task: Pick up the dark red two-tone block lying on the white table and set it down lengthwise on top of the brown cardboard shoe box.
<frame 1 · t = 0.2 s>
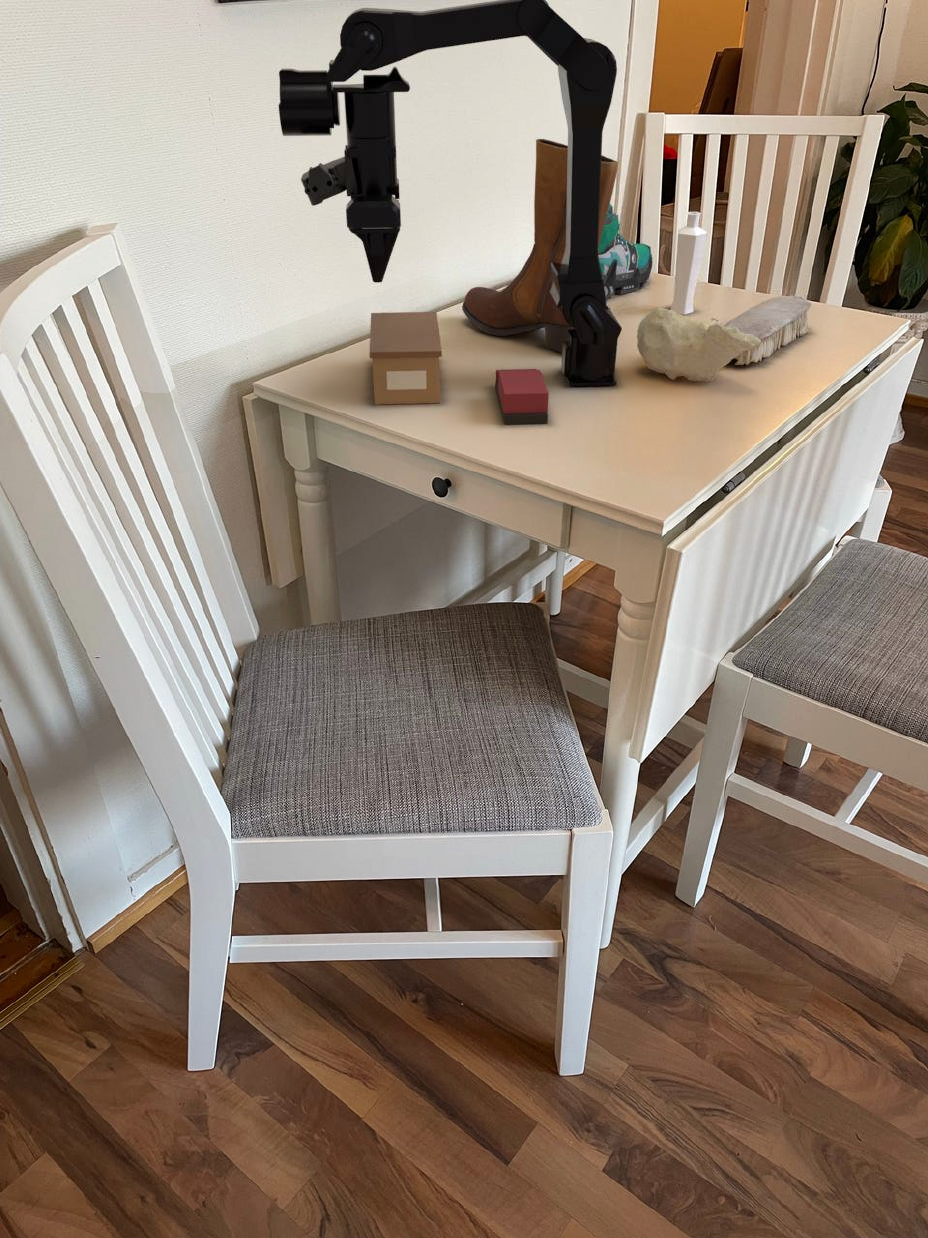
hand: (377, 271, 122), 15 cm above the table, tool pointing down, fingers open, 9 cm apart
shoebox: (406, 382, 130), on the table
sneaker: (604, 290, 167), on the table
shoe brush: (761, 346, 143), on the table
boot: (529, 337, 146), on the table
dark red two-tone block: (520, 405, 124), on the table
beige lumpy irregular piece: (696, 377, 132), on the table
perfume bottle: (679, 312, 156), on the table
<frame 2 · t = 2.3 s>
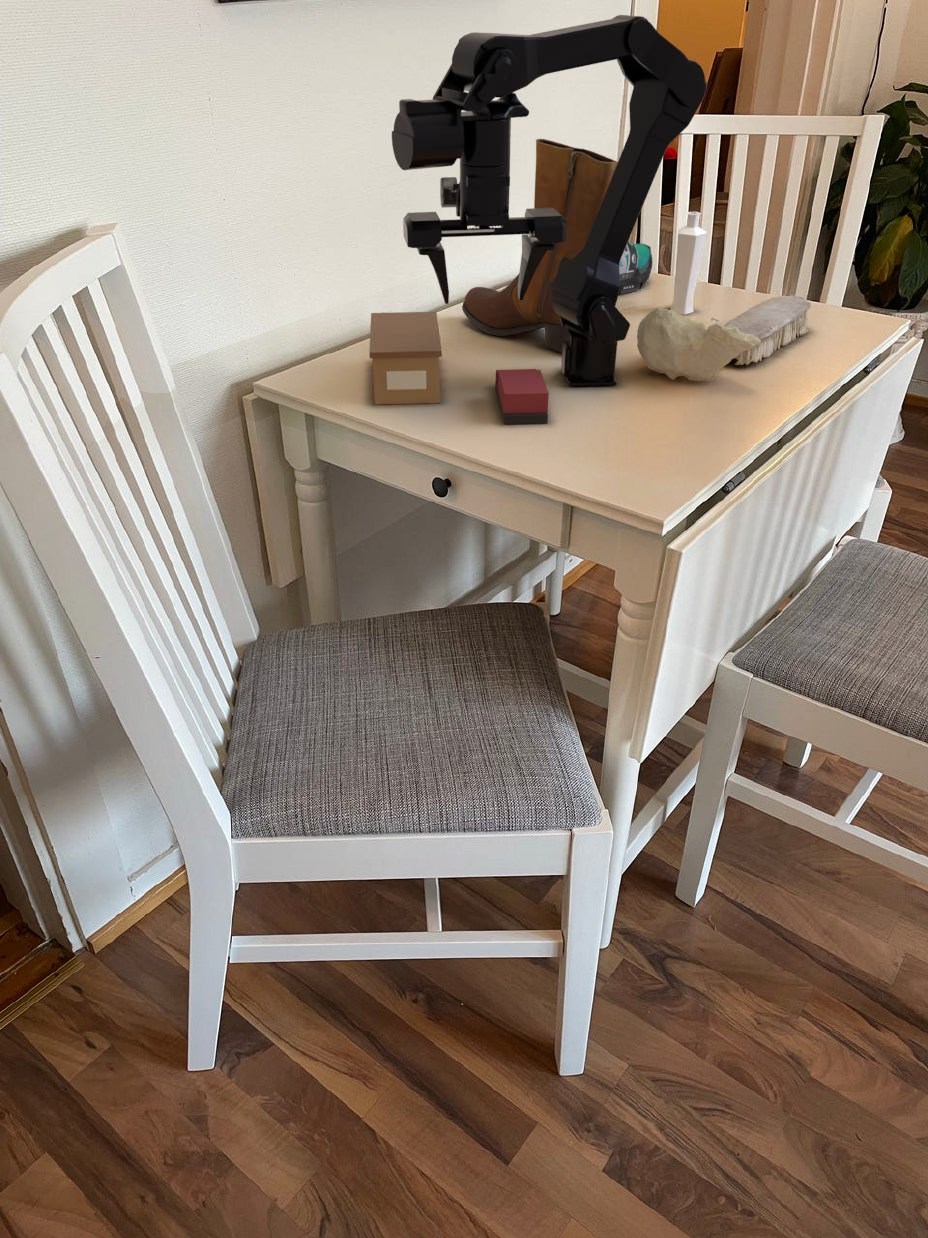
hand: (483, 301, 118), 13 cm above the table, tool pointing down, fingers open, 9 cm apart
nothing on the table moved.
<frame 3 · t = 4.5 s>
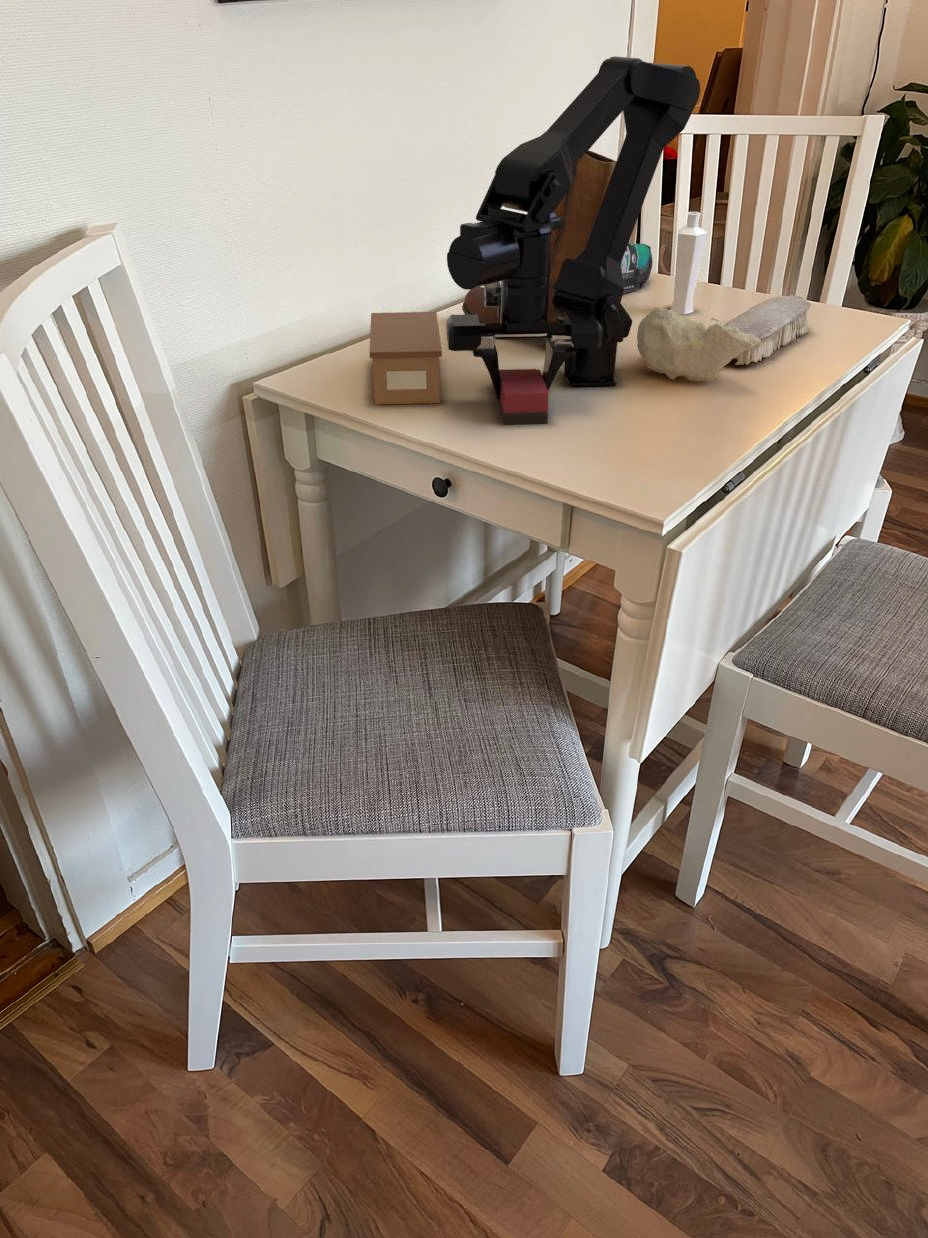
hand: (520, 397, 123), 1 cm above the table, tool pointing down, fingers closed on dark red two-tone block, 5 cm apart
dark red two-tone block: (520, 405, 124), on the table, touching gripper
everything else where it was.
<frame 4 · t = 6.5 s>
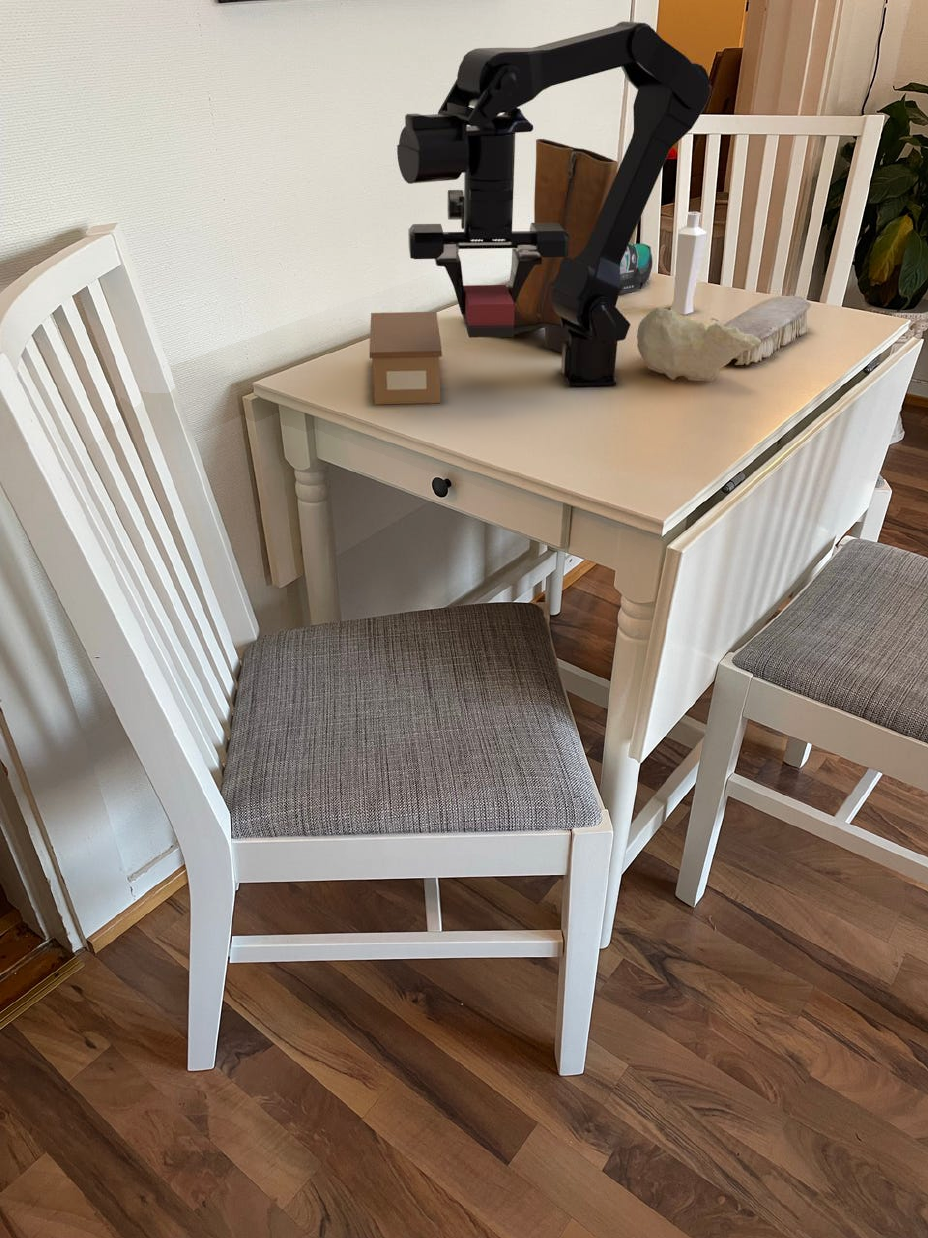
hand: (486, 313, 119), 11 cm above the table, tool pointing down, fingers closed on dark red two-tone block, 5 cm apart
dark red two-tone block: (486, 321, 120), point 10 cm above the table, touching gripper
everything else where it was.
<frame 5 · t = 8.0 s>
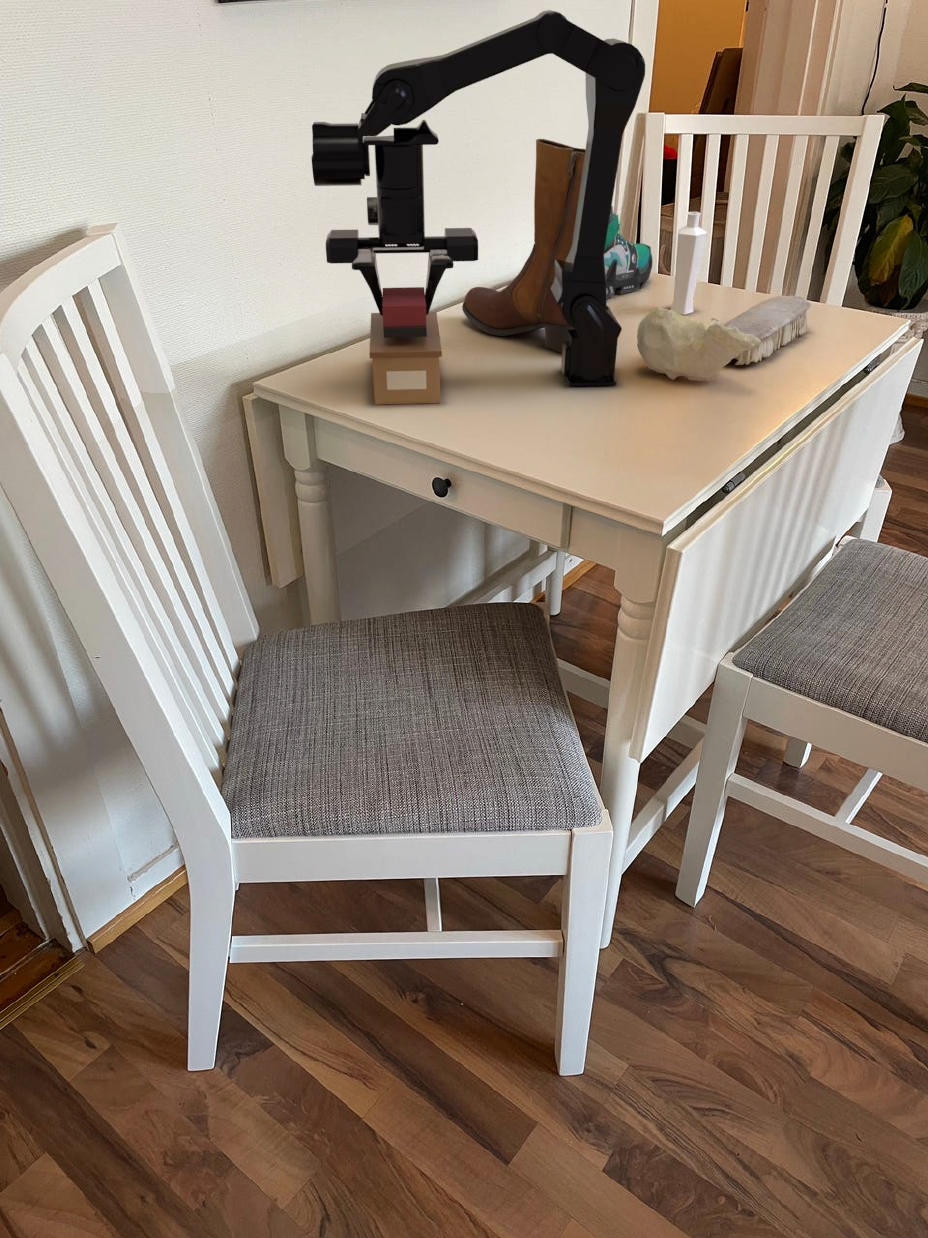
hand: (404, 314, 125), 9 cm above the table, tool pointing down, fingers closed on dark red two-tone block, 5 cm apart
dark red two-tone block: (404, 322, 125), point 8 cm above the table, touching gripper
everything else where it was.
when the fingers open (8 cm above the table, at t = 8.8 s): dark red two-tone block stays where it is, resting on shoebox.
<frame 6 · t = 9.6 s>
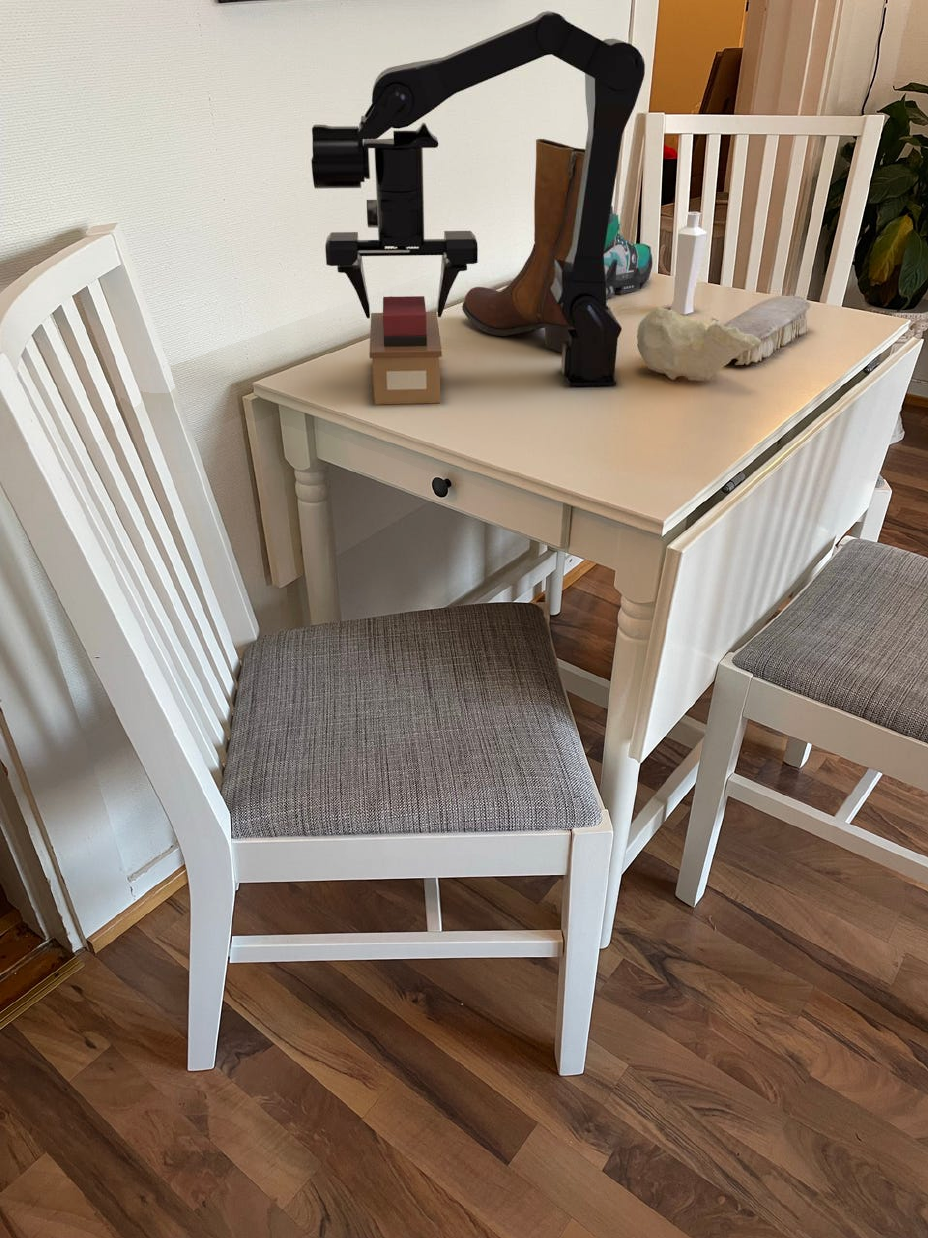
hand: (403, 316, 125), 9 cm above the table, tool pointing down, fingers open, 9 cm apart
dark red two-tone block: (404, 330, 126), point 7 cm above the table, touching shoebox
everything else where it was.
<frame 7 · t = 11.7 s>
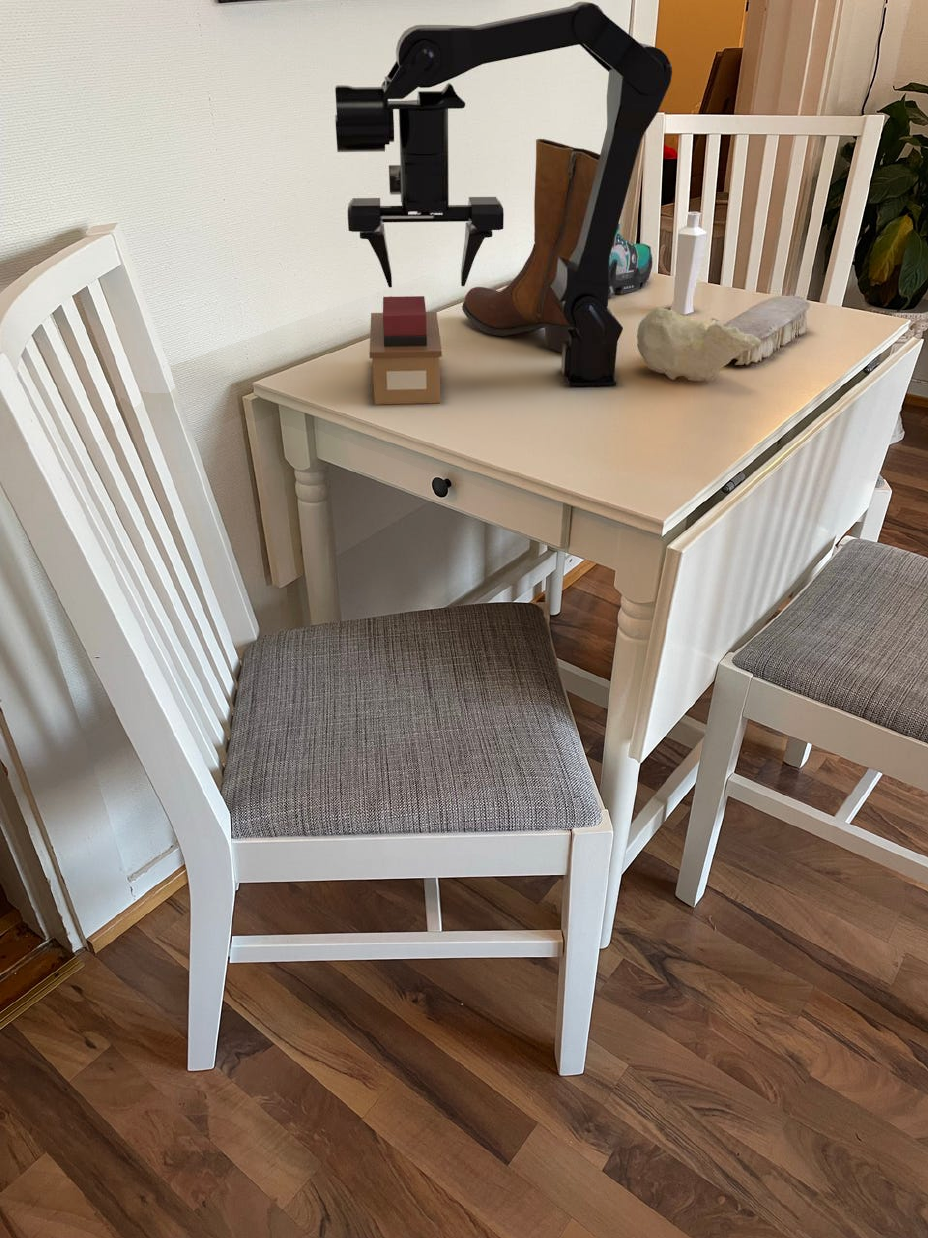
hand: (426, 285, 122), 13 cm above the table, tool pointing down, fingers open, 9 cm apart
nothing on the table moved.
at the end: dark red two-tone block inside the target area on the shoebox (0.1 cm from its centre), point 7.0 cm above the shoebox's base; dark red two-tone block tilted 0°; the gripper is holding nothing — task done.
